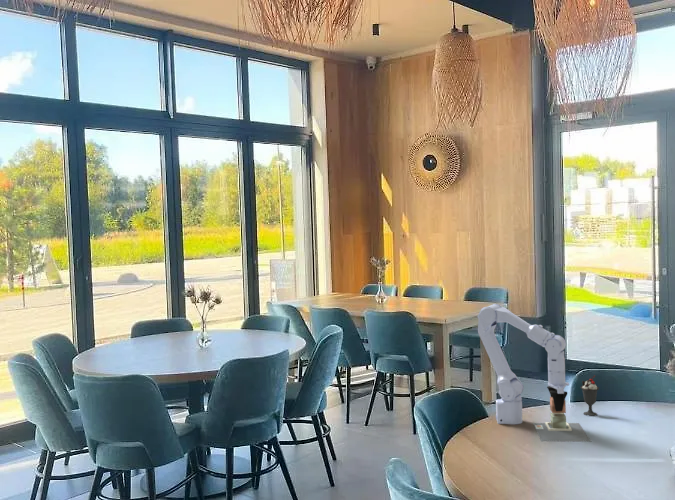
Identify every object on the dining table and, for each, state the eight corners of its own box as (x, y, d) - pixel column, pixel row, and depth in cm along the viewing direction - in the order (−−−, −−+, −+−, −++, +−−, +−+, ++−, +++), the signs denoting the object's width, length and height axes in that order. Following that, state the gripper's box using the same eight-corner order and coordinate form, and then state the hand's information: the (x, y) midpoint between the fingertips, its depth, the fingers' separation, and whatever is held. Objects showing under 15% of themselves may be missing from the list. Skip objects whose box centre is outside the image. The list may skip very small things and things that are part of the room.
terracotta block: (552, 412, 229) (552, 400, 229) (550, 409, 233) (549, 396, 233) (565, 413, 228) (565, 400, 228) (563, 409, 233) (563, 396, 233)
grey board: (541, 443, 218) (541, 439, 218) (532, 425, 237) (532, 421, 237) (591, 444, 215) (591, 439, 215) (579, 425, 235) (578, 421, 235)
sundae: (601, 416, 244) (600, 376, 243) (582, 416, 245) (581, 376, 244) (598, 411, 250) (597, 372, 250) (579, 411, 251) (578, 372, 251)
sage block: (553, 429, 229) (552, 416, 229) (550, 425, 234) (550, 412, 234) (566, 429, 229) (565, 416, 228) (563, 425, 233) (563, 412, 233)
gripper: (572, 375, 223) (573, 414, 223) (564, 366, 237) (565, 403, 237) (550, 375, 224) (552, 414, 224) (544, 366, 238) (545, 403, 239)
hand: (557, 408), depth 231 cm, fingers closed on terracotta block, 4 cm apart
